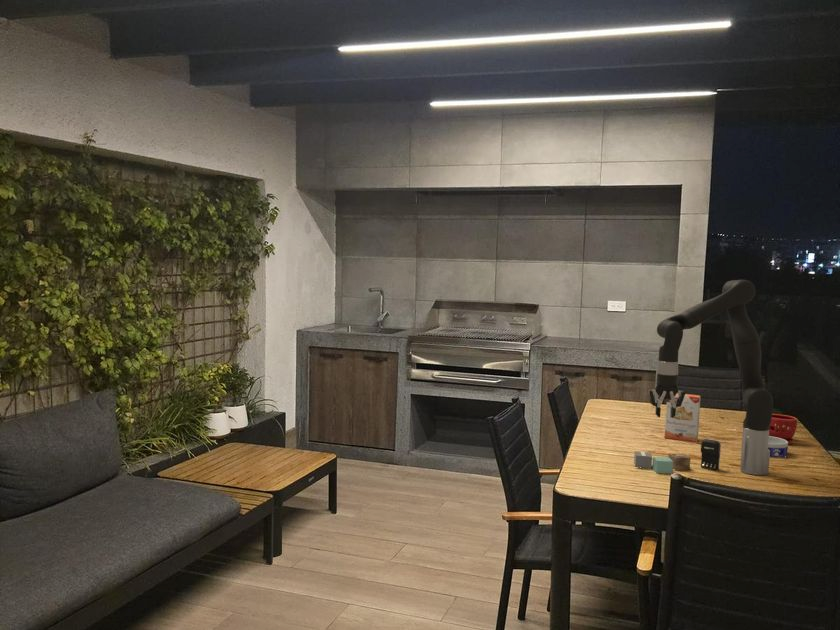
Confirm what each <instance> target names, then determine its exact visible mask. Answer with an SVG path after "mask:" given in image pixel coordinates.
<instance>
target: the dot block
mask: <svg viewBox="0 0 840 630" xmlns="http://www.w3.org/2000/svg"><path fill="white" fill-rule="evenodd" d="M668 457H669V458H670V459H671V460H672V461H673V470H674V469H675V470H674V471H690V470H691V457H690V456H688V455H686V454H684V453H668Z"/></svg>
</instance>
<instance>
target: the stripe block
mask: <svg viewBox="0 0 840 630" xmlns="http://www.w3.org/2000/svg"><path fill="white" fill-rule="evenodd" d="M633 458H634V459H633V465H634V464H635V465H634V468H635V467H641V468H640V469H643V468H651V469H652V465H653V456H652V454H651V452H645V451H634V457H633Z"/></svg>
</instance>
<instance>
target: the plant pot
mask: <svg viewBox="0 0 840 630" xmlns="http://www.w3.org/2000/svg"><path fill="white" fill-rule="evenodd" d="M797 426H798V418H796V417H794V416H790V415H785V414H775V413H772V420H771V424H770V427H769V436H772V437H777V438H781V439H784V440H786V441H788V445H790V444H792V443H794V441H795V439H793V437H794V436H795V434H796V431H797Z"/></svg>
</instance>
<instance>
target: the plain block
mask: <svg viewBox="0 0 840 630" xmlns="http://www.w3.org/2000/svg"><path fill="white" fill-rule="evenodd" d="M651 470H653V471H654V472H656V473H655V474H657V473H668V474H667V475H673V471H674V469H673V461H672V460H671V459H670V458H669V456H668V457H667V456H652V466H651ZM669 473H670V474H669Z"/></svg>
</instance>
